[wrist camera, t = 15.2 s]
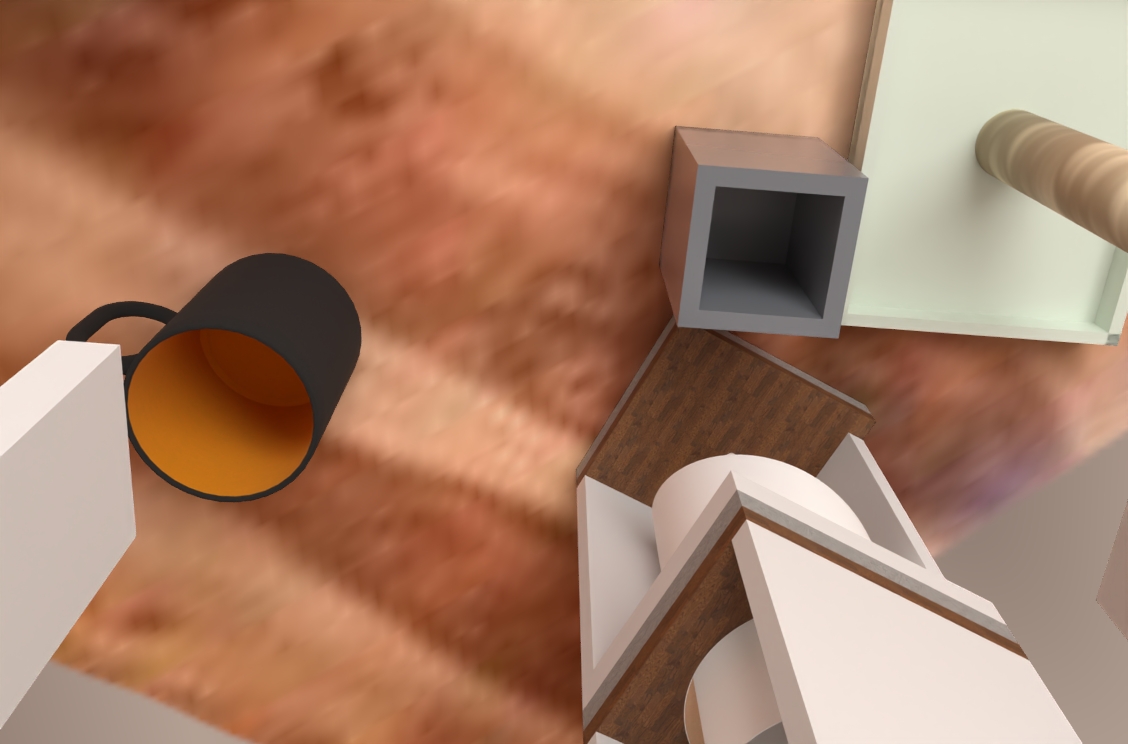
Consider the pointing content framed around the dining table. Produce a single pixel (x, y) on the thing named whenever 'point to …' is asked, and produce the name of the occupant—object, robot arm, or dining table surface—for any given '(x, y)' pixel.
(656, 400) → the white coffee maker
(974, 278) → the tray
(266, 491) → the mug
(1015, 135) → the dowel
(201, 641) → the dining table surface
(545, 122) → the dining table surface
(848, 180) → the pen cup
